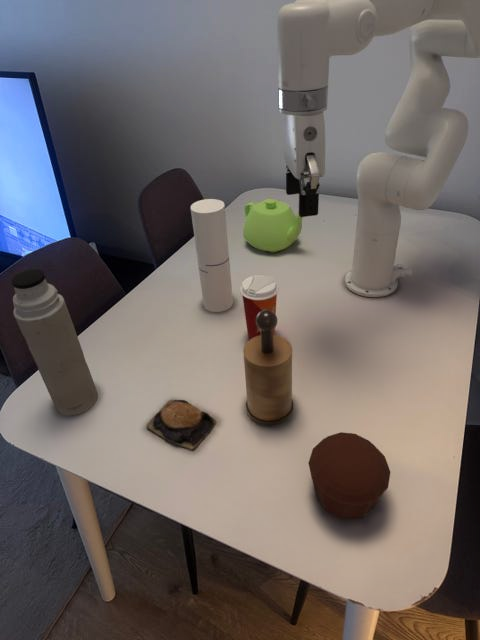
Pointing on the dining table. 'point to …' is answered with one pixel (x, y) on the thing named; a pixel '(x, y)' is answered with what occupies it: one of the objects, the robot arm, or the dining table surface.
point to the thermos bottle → (53, 342)
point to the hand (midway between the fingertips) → (301, 204)
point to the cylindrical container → (212, 253)
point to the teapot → (271, 225)
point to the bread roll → (182, 424)
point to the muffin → (348, 475)
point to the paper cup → (258, 300)
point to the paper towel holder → (268, 374)
